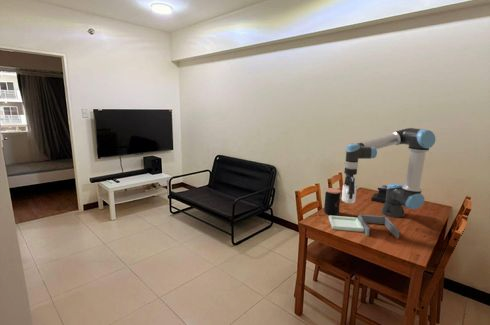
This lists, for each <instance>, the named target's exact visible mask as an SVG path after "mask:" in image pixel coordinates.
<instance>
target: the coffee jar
mask: <svg viewBox="0 0 490 325" xmlns="http://www.w3.org/2000/svg"><path fill="white" fill-rule="evenodd" d="M324 195H325V196H324V207H323V212H324V213H325V214H326V215H328V216H338V215H339V213H340V204H341V203H340V202H341V196H342V190H341V189H339V188H335V187H328V188H326V189H325V194H324Z"/></svg>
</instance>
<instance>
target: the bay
mask: <svg viewBox="0 0 490 325" xmlns="http://www.w3.org/2000/svg"><path fill="white" fill-rule="evenodd" d="M357 218H358V220H359V221H360V223H361V224H362V226H363V227H364V232H363V233H364V234H365V236H366V237H369V236H370V231H371V230H370V229H371V228H370V227H369V225H368V224H380V225H384V226H385V227H386V228H387V229H388V231H390V233H391V234H392V235H393V236H394V238H395V239H398V240H399V237H400V230H399V229H398V228H397V227H396V226H395V225H394V224H393V222H392V221H391V220H390V219H389V218H388V216H386V215H385V216H384V215H371V214H370V215H369V214H368V215H367V214H358V215H357Z"/></svg>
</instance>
